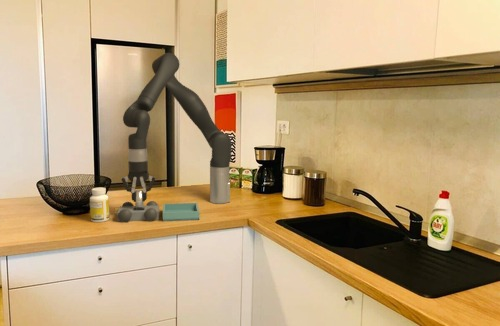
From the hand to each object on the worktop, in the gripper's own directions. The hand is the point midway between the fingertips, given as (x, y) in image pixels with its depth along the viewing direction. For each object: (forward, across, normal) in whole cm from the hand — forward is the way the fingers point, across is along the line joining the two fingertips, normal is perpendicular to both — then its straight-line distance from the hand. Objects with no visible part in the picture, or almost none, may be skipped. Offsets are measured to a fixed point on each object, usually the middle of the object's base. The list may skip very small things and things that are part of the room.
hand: (139, 201), depth 169 cm
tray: (+7, -17, 0) cm, 18 cm away
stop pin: (+5, 0, 0) cm, 5 cm away
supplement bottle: (+7, +15, +2) cm, 17 cm away
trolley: (+7, +1, 0) cm, 7 cm away
